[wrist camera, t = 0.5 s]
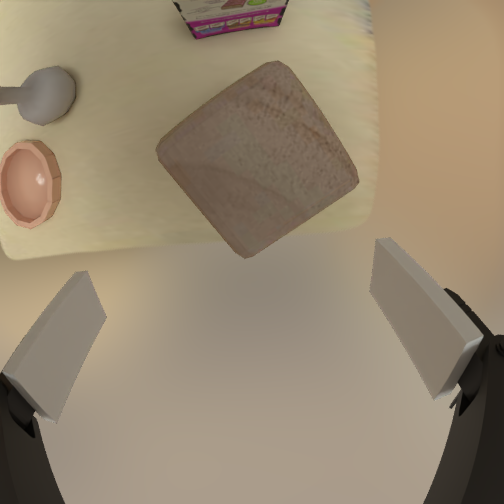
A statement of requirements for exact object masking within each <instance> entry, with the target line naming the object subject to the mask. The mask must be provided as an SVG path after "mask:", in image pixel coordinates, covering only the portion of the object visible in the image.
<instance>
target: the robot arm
mask: <svg viewBox="0 0 504 504" xmlns="http://www.w3.org/2000/svg"><path fill="white" fill-rule="evenodd" d="M370 293H371V295H372V296H373V298H374V299H375V301H376V302H377V304H378V305H379V307H380V309H381V310H382V312H383V313H384V315H385V316H386V318H387V320H388V321H389V323H390V324H391V326H392V328H393V329H394V331H395V332H396V334H397V336H398V338H399V339H400V341H401V342H402V344H403V346H404V348H405V349H406V351H407V353H408V354H409V356H410V358H411V360H412V361H413V363H414V365H415V367H416V369H417V370H418V372H419V374H420V376H421V378H422V379H423V381H424V383H425V385H426V387H427V389H428V391H429V393H430V394H431V396H432V398H433V400H434V401H435V400H437V399H439V398H442V397H444V396H446V395H448V394H450V393H451V392H452V390H453V389H454V388H455V386H456V384H457V383H458V384H459V386H460V387H461V390H460V392H459V393H458V395H457V396H456V397H455V399H454V400H453V402H452V403H451V405H450V408H451V409H452V407H453V406H454V405H455V404H456V408H455V412H454V416H453V421H452V425H451V428H450V432H449V436H448V439H447V442H446V446H445V449H444V452H443V455H442V458H441V461H440V464H439V467H438V469H437V472H436V475H435V477H434V480H433V482H432V485H431V487H430V490H429V492H428V494H427V497H426V499H425V501H424V503H423V504H504V335H496V336H494V335H493V334H492V333H491V331H490V330H489V329H488V328H487V327H486V325H485V324H484V323H483V322H482V321H481V320H480V318H479V317H478V316H477V315H476V314H475V313H474V312H473V311H471V308H470V307H469V306H468V305H466V304H465V302H464V301H463V300H462V299H461V298H460V296H459V295H458V294H456V293H454V292H453V291H451V290H449V289H447V288H445V289H443V288H442V287H441V286H440V285H439V284H438V283H437V282H436V281H435V280H434V279H433V278H432V277H431V276H430V275H429V274H428V273H427V272H426V271H425V270H424V269H423V268H422V267H421V266H420V265H419V264H418V263H417V262H416V261H415V260H414V259H413V258H412V257H411V256H410V255H409V254H408V253H407V252H406V251H405V250H403V249H402V248H401V247H400V246H399V245H398V244H397V243H396V242H395V241H394V240H393V239H392V238H381V239H376V241H375V252H374V261H373V269H372V277H371V284H370ZM106 318H107V316H106V314H105V312H104V310H103V307H102V305H101V303H100V301H99V298H98V296H97V294H96V291H95V289H94V287H93V284H92V281H91V279H90V276H89V274H88V271H80V272H76V273H74V274H73V276H72V277H71V278H70V279H69V280H68V281H67V283H66V284H65V285H64V286H63V287H62V289H61V290H60V291H59V292H58V293H57V295H56V296H55V297H54V298H53V300H52V301H51V302H50V303H49V305H48V306H47V307H46V309H45V310H44V311H43V312H42V314H41V315H40V317H39V318H38V319H37V321H36V322H35V323H34V325H33V326H32V327H31V329H30V330H29V332H28V333H27V334H26V335H25V337H24V338H23V339H22V341H21V342H20V344H19V345H18V347H17V348H16V350H15V352H14V353H13V354H12V356H11V357H10V359H9V361H8V362H7V364H6V365H5V367H4V368H3V370H2V372H1V373H0V504H65V502H64V500H63V498H62V496H61V493H60V491H59V488H58V486H57V483H56V481H55V478H54V475H53V473H52V470H51V467H50V464H49V461H48V458H47V454H46V451H45V448H44V444H43V441H42V437H41V433H40V429H39V425H38V422H37V419H36V418H35V417H34V416H33V414H34V412H35V411H36V412H37V413H38V414H39V415H40V416H41V417H42V418H43V419H44V420H47V421H50V422H53V423H57V422H58V419H59V417H60V415H61V412H62V409H63V407H64V405H65V403H66V400H67V398H68V395H69V393H70V391H71V388H72V386H73V384H74V382H75V380H76V378H77V375H78V373H79V371H80V369H81V367H82V365H83V362H84V361H85V359H86V356H87V355H88V352H89V351H90V348H91V347H92V344H93V342H94V341H95V339H96V337H97V335H98V333H99V331H100V329H101V327H102V325H103V324H104V322H105V319H106ZM456 402H457V403H456Z"/></svg>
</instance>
